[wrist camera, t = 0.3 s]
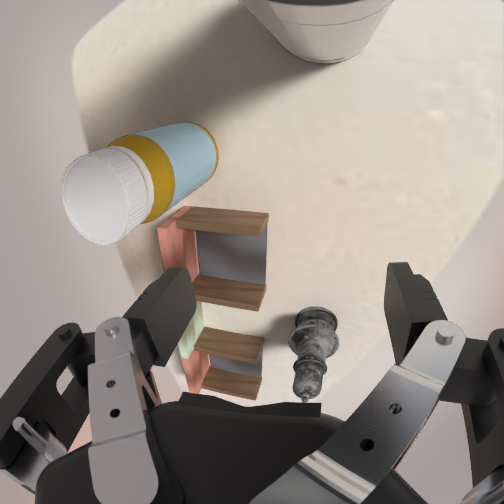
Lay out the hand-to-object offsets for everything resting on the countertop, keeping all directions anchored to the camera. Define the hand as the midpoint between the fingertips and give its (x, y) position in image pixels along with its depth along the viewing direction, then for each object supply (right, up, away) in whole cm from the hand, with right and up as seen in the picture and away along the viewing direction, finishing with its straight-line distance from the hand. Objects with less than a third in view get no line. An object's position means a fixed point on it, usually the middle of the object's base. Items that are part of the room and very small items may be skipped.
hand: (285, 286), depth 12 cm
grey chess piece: (+7, -7, +25) cm, 26 cm away
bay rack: (-4, -6, +27) cm, 28 cm away
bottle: (-8, +12, +18) cm, 23 cm away
